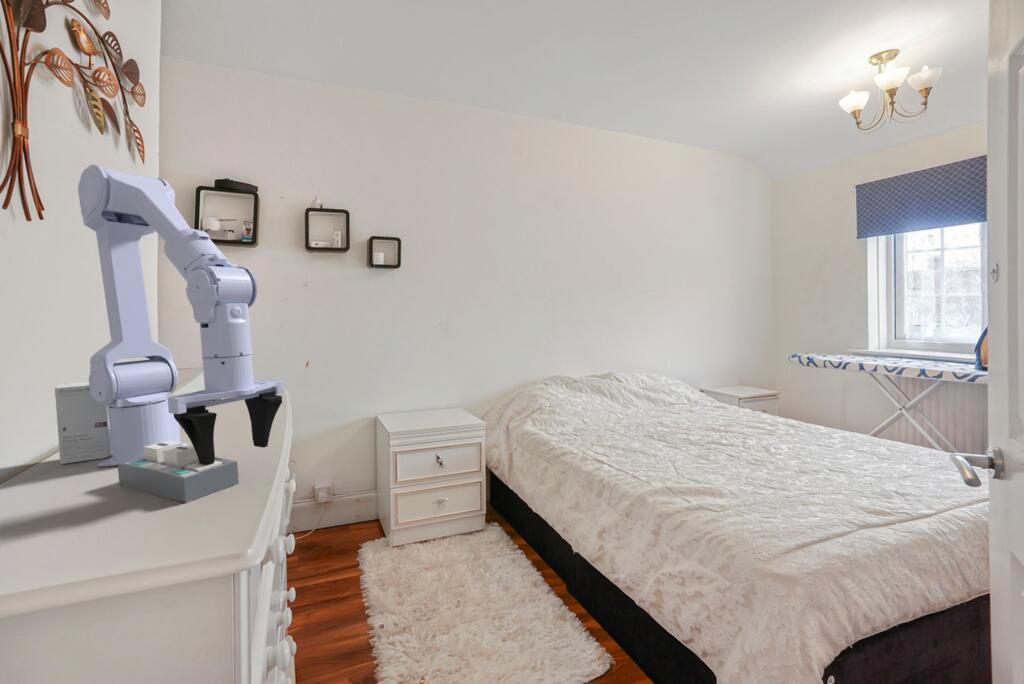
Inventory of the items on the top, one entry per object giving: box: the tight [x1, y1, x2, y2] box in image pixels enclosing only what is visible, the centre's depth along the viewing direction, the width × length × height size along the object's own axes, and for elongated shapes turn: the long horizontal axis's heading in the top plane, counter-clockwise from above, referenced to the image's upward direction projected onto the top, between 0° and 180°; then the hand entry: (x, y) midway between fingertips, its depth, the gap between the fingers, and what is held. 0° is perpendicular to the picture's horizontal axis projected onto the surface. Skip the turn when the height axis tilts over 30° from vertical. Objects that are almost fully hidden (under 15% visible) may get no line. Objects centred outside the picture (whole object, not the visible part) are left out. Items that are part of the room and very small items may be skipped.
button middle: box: [163, 443, 199, 468], centre depth 62 cm, size 3×3×2 cm
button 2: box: [185, 461, 223, 472], centre depth 60 cm, size 3×3×2 cm
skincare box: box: [54, 381, 112, 465], centre depth 74 cm, size 6×4×12 cm
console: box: [117, 456, 240, 504], centre depth 62 cm, size 15×7×3 cm, turn 64°
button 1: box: [144, 441, 182, 463], centre depth 64 cm, size 3×3×2 cm
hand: (235, 454), depth 64 cm, fingers open, 7 cm apart
